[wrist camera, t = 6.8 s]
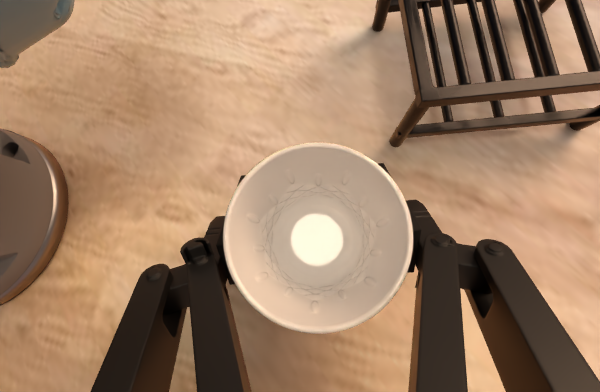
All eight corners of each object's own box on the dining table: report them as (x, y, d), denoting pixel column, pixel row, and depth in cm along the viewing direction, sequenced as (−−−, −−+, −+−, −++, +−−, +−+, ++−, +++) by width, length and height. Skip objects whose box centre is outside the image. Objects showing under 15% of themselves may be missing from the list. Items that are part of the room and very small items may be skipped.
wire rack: (390, 148, 22) (421, 101, 15) (371, 23, 25) (391, -65, 18) (583, 130, 22) (708, 73, 15) (544, 2, 24) (634, -97, 17)
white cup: (386, 219, 21) (444, 190, 11) (341, 315, 20) (361, 375, 10) (296, 174, 22) (278, 114, 13) (248, 263, 21) (187, 271, 11)
